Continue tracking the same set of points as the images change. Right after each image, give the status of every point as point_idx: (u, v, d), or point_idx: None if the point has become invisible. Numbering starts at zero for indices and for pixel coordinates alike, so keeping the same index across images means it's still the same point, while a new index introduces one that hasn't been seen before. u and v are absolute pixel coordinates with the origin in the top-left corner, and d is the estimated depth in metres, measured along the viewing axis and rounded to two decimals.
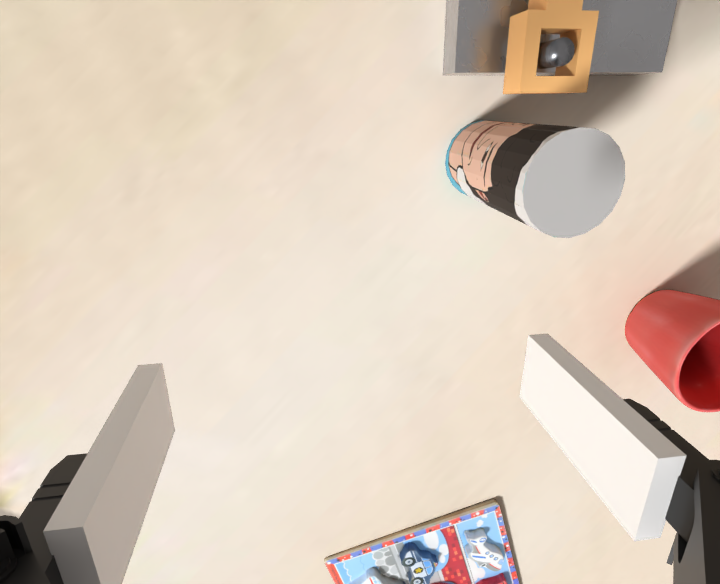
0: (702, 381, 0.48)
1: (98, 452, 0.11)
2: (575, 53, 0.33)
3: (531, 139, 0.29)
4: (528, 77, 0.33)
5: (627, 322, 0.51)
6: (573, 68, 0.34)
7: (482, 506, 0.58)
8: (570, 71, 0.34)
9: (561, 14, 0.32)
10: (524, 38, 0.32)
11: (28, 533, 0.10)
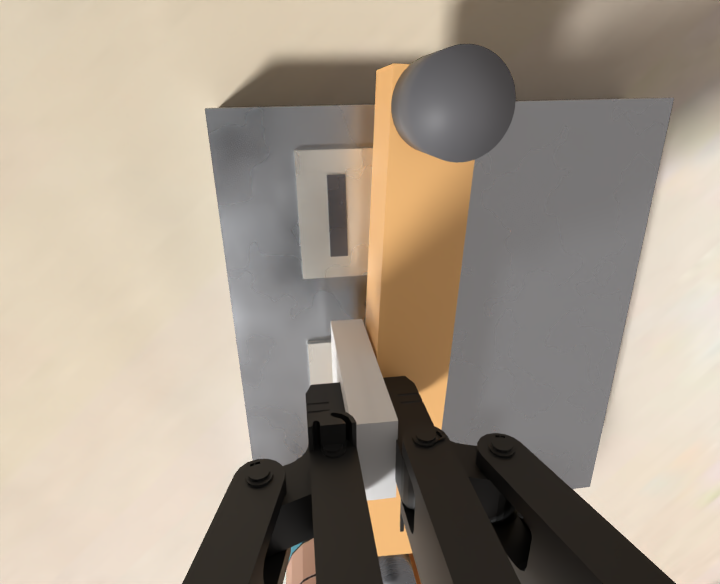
0: None
1: (350, 378, 0.14)
2: None
3: None
4: None
5: None
6: None
7: None
8: None
9: (393, 540, 0.19)
10: None
11: None
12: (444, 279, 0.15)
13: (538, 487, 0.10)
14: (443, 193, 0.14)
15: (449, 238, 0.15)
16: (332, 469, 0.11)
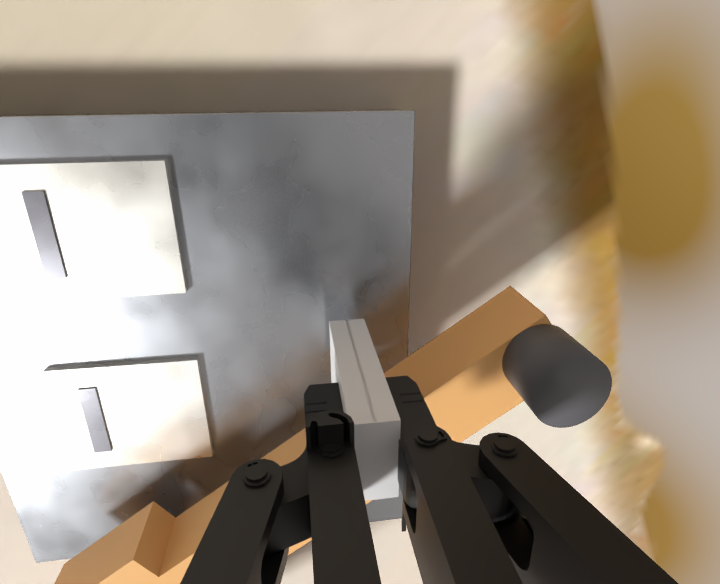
0: None
1: (348, 378, 0.14)
2: None
3: None
4: None
5: None
6: None
7: None
8: None
9: None
10: (100, 579, 0.18)
11: None
12: None
13: (541, 487, 0.10)
14: (485, 404, 0.17)
15: (458, 431, 0.17)
16: (330, 469, 0.11)
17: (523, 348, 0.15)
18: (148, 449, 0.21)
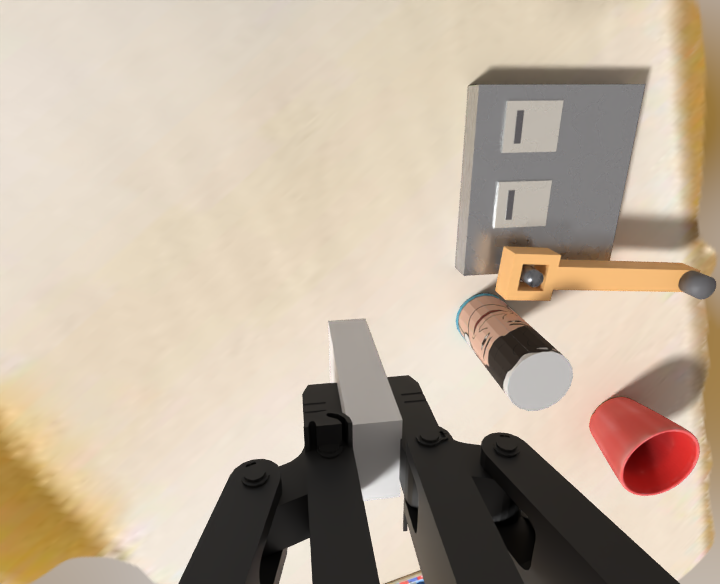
0: (644, 468, 0.65)
1: (347, 378, 0.14)
2: (528, 289, 0.50)
3: (514, 350, 0.46)
4: (523, 259, 0.49)
5: (590, 420, 0.68)
6: (520, 289, 0.50)
7: None
8: None
9: (553, 277, 0.50)
10: (545, 254, 0.49)
11: None
12: (646, 286, 0.52)
13: (542, 487, 0.10)
14: (668, 284, 0.52)
15: (656, 287, 0.52)
16: (328, 469, 0.11)
17: (695, 272, 0.51)
18: (523, 220, 0.52)
